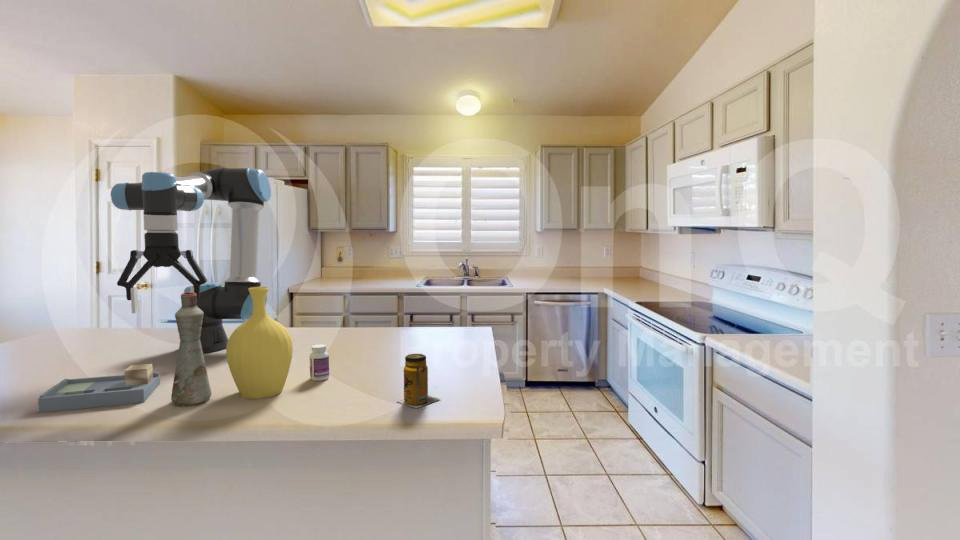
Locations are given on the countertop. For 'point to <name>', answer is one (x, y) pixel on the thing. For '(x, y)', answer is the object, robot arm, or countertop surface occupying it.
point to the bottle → (190, 356)
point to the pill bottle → (319, 363)
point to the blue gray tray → (95, 393)
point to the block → (138, 374)
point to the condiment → (416, 382)
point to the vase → (259, 352)
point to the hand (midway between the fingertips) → (165, 311)
